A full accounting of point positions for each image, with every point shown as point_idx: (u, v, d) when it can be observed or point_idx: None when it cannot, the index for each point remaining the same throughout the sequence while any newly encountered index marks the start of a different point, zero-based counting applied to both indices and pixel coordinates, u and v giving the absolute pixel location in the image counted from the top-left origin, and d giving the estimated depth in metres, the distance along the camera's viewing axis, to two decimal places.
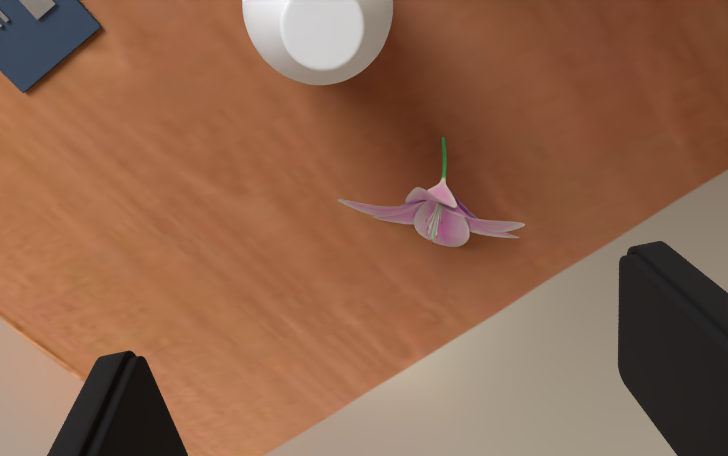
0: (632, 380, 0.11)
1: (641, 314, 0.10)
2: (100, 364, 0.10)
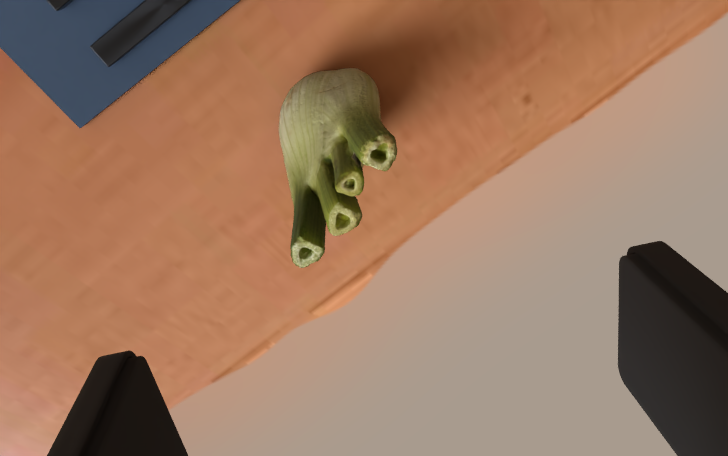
0: (632, 380, 0.11)
1: (641, 314, 0.10)
2: (100, 364, 0.10)
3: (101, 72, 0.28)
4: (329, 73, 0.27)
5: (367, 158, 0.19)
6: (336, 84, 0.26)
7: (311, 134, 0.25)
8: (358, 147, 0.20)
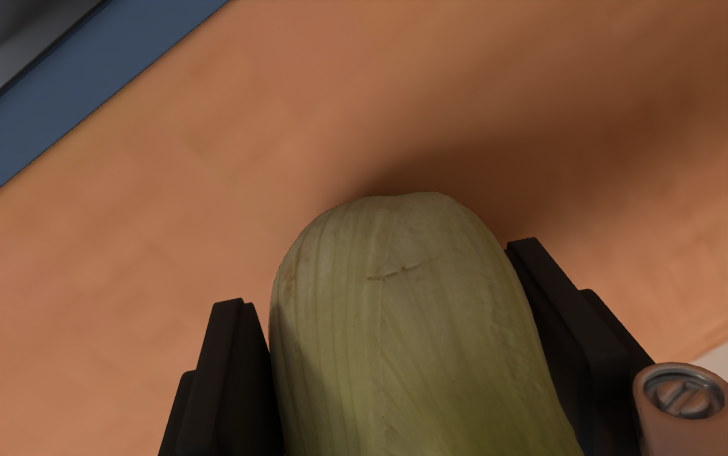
0: None
1: None
2: (218, 308, 0.11)
3: None
4: (386, 213, 0.12)
5: None
6: (408, 256, 0.10)
7: (350, 418, 0.09)
8: None
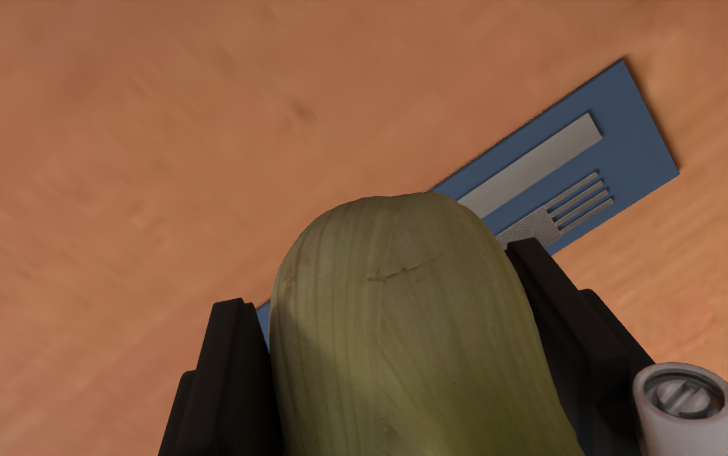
0: None
1: None
2: (218, 308, 0.11)
3: None
4: (386, 214, 0.12)
5: None
6: (409, 257, 0.10)
7: (351, 420, 0.09)
8: None
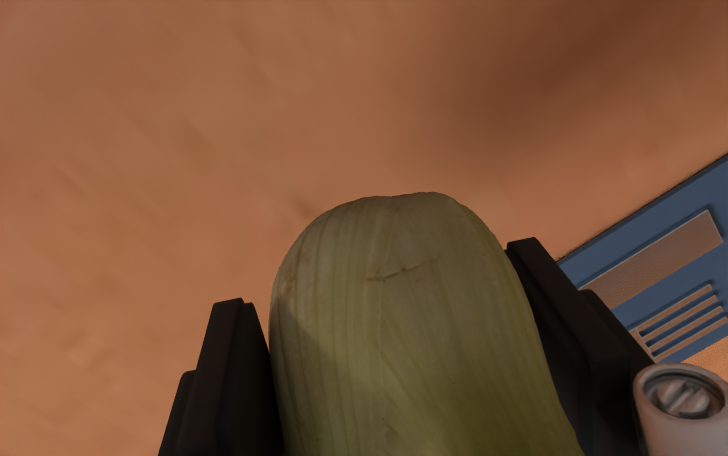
0: None
1: None
2: (218, 308, 0.11)
3: None
4: (386, 214, 0.12)
5: None
6: (409, 257, 0.10)
7: (350, 420, 0.09)
8: None
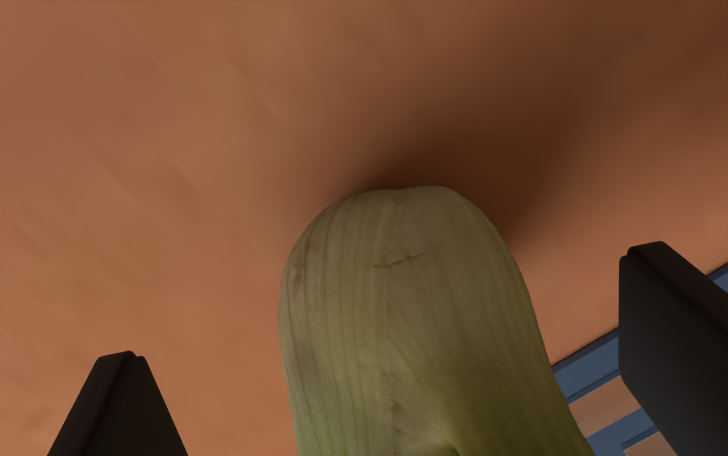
0: (632, 380, 0.11)
1: (641, 314, 0.10)
2: (100, 364, 0.10)
3: None
4: (391, 205, 0.12)
5: None
6: (413, 245, 0.11)
7: (357, 397, 0.10)
8: None
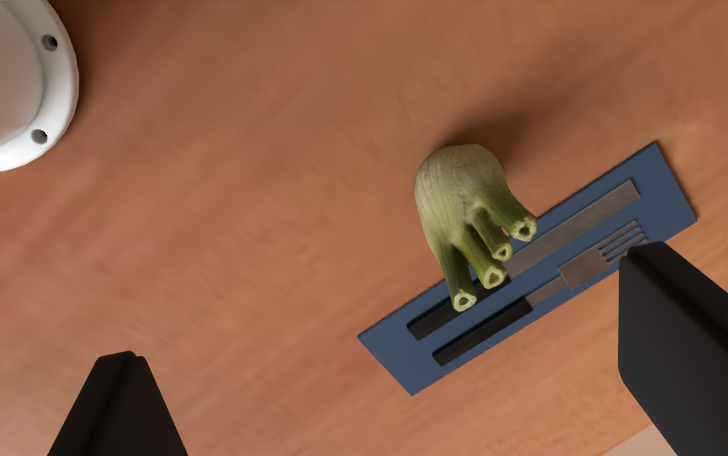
0: (631, 380, 0.11)
1: (641, 314, 0.10)
2: (100, 364, 0.10)
3: (432, 366, 0.44)
4: (457, 149, 0.34)
5: (516, 233, 0.26)
6: (467, 160, 0.33)
7: (451, 203, 0.32)
8: (509, 224, 0.27)
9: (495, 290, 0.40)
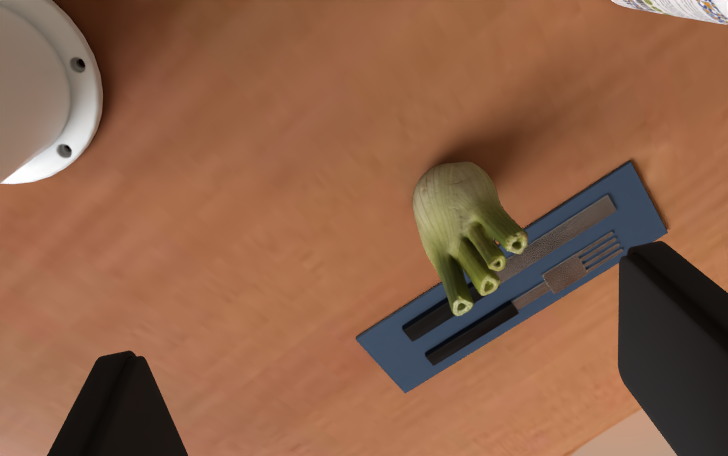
0: (632, 380, 0.11)
1: (641, 314, 0.10)
2: (100, 364, 0.10)
3: (425, 365, 0.47)
4: (453, 167, 0.38)
5: (510, 247, 0.30)
6: (462, 178, 0.36)
7: (449, 217, 0.35)
8: (503, 239, 0.30)
9: None
